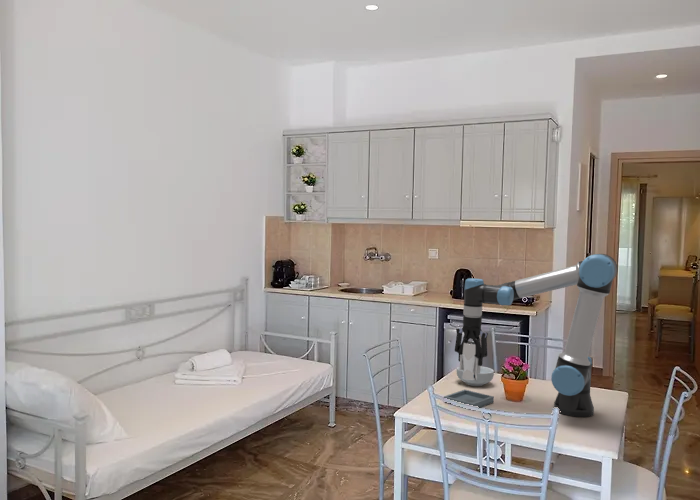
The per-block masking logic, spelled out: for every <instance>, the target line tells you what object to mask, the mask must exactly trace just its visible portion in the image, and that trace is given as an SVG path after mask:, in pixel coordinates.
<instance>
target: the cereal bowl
mask: <svg viewBox="0 0 700 500" xmlns="http://www.w3.org/2000/svg"><path fill="white" fill-rule="evenodd" d="M456 375H457V377H458V379H459V380H460V381H462V382H464V383H465V384H466V385H467V386H472V387H482V386H484V385H486V384H489V383H490V382H492V380H493V379H494V375H495V371H494V369H493V368H491V367H487V366H483V365H482V366H481V367H480V373H478V374H477V380H465V379H463V378H462V375H463V370H460V365H459V366H457V367H456Z"/></svg>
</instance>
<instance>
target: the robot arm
mask: <svg viewBox="0 0 700 500" xmlns="http://www.w3.org/2000/svg"><path fill="white" fill-rule="evenodd" d="M618 270H619V268H618V264H617V262H616V261H615V259H614V258H613V257H612V256H611V255H609V254H605V253H594V254H591V255H589V256H587V257H586V258H584V260H580V261H577V263H576V264H575V265H571V266H567V267H563V268H560V269H556V270H551V271H549V272H548V271H547V272H544V273H540V274H535V275H531V276H529V277H525V278H520V279H516V280H512V281H508V282H505V283H504V282H503V283H502V284H497V285H494V284H485V283H484V282H485V281H484V279H482V278H471V277H468V278H467V279H465V283H464V290H463V292H464V294H463V295H464V296H463V311H462V312H463V314H462V315H464V316H463V317H462V327H459V328H456V331H455V332H456V338H455V345H454V352H456V353H458V363H459V366H460V370H464V367H463V359H462V349H463V342H464V343H468V341H470V340H472V341H473V342H474V344H476V352H477V356H478V357H477V358H476V367H475V374H478V373H480V367H481V366H483V361H484V360H483V359H484V358H485V357H486V358H487V357H488V341H487V340H488V335H489V333H488V331H487V332H486V331H485V332H484V331H483V330H482V321H483V318H482V316H483V304H492V305H501V306H511V305H512V304H513V302H514V301H516V300H519V299H522V298H526V297H530V296H531V297H532V296H536V295H539V294H543V293H547V292H551V291H556V290H560V289H561V290H562V289H564V288H568V287H573V286H576V287H577V289H578V291H579V294H578V296H577V301H576V306H575V309H574V312H573V316H572V319H571V324H570V328H569V332H568V335H567V338H566V343H565V346H564V347H565V348H564V351H562V352H561V353H559V354H558V356H557V357H558V358H557V360H556V365H555V368H554V370H553V371H552V373H551V385H552V386H553V388H554V389H555V390H556V391H557V392H558V393H557V395H556V397H555V400H554V403H553V408H554V407H558V408H559V409H560V411H561V413H560V415H561V414H562V415H565V416H570V417H576V418H577V417H578V418H587V417H588V418H589V417H591V416H592V417H593V416H594V413H595V408H594V403H593V401H592V397H591V383H592V382H591V381H592V380H591V379H592V367H593V363H592V362H593V360H592V358H591V356H589V355H590V351H591V346H592V343H593V339H594V335H595V332H596V329H597V328H596V327H597V324H598V319H599V316H600V312H601V309H602V306H603V302H604V298H605V297H607V296H608V295H610V294H611V289H612V285H613V282H614V279H615V278H616V276H617V275H618Z"/></svg>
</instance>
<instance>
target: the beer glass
mask: <svg viewBox="0 0 700 500" xmlns="http://www.w3.org/2000/svg"><path fill="white" fill-rule="evenodd" d="M477 357H478V356H477V352H476V344H474V342H473V340H468V343H464V342H463V349H462V359H463V367H464V370H463V375H462V378H463V379H465V380H477V374H475V367H476V358H477Z"/></svg>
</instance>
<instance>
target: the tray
mask: <svg viewBox="0 0 700 500" xmlns="http://www.w3.org/2000/svg"><path fill="white" fill-rule="evenodd" d="M494 397H495V396H493V395H489V394H484V393H480V392H478V391H476V392H475V391H473V390H469V389H462V390H459V391H457V392H454V393H451V394H447V395H444V396H443V399H444V398H447V399H450V400H454V401H457V402H461V403H464V404H469V405H473V406H478V407H481V408H483V407H485V405H486V406H488V405H490V403H491V404H494V403H493V402H494V400H495V399H494Z"/></svg>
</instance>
